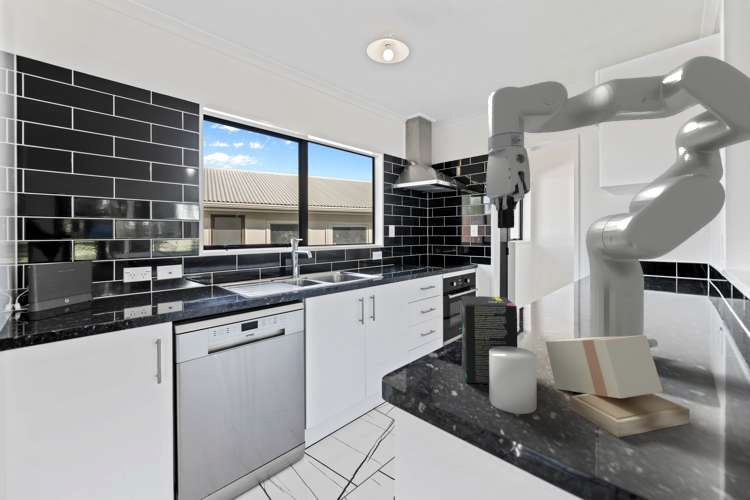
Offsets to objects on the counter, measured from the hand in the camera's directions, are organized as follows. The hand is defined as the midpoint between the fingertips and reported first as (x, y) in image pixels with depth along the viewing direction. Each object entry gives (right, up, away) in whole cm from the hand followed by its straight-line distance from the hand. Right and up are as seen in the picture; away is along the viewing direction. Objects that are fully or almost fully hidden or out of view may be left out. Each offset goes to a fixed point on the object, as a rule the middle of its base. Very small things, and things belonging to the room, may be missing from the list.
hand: (505, 227), depth 73 cm
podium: (+7, -30, -25) cm, 40 cm away
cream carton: (+6, -26, -14) cm, 30 cm away
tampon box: (-8, -30, -10) cm, 32 cm away
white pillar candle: (-8, -30, -21) cm, 37 cm away
